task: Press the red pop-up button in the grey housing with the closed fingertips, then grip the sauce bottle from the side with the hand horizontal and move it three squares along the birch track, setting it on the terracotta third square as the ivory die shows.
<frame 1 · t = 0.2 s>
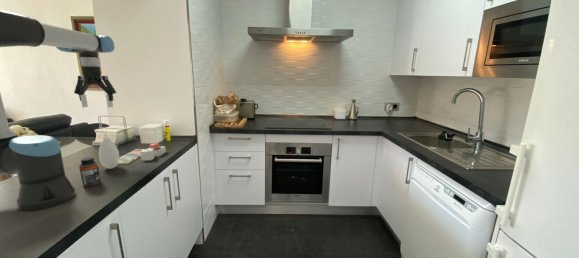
hand: (98, 107, 131), 28 cm above the counter, fingers open, 13 cm apart
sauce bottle: (111, 168, 119), on the counter
track board: (131, 156, 136), on the counter
ivory die: (148, 158, 132), on the counter
red button: (154, 146, 139), point 4 cm above the counter, slide at 0.0 cm
button housing: (155, 154, 140), on the counter
supplement bottle: (92, 184, 102), on the counter
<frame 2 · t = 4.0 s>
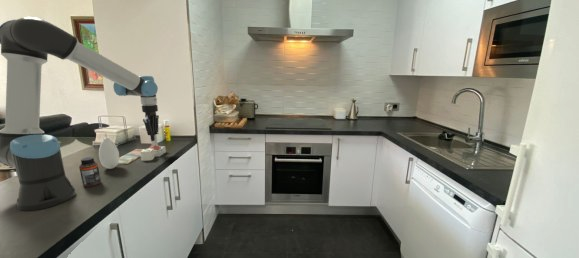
hand: (154, 145, 139), 5 cm above the counter, fingers closed
red button: (154, 148, 140), point 3 cm above the counter, slide at 1.2 cm, touching gripper
everything else where it was.
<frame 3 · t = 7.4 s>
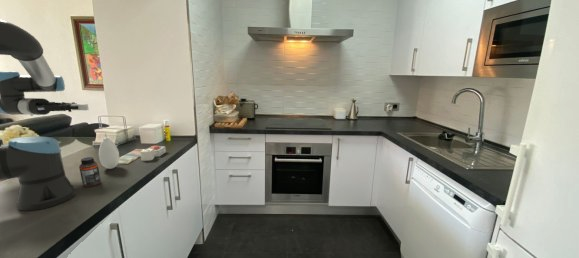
hand: (86, 107, 113), 30 cm above the counter, fingers closed
red button: (155, 149, 140), point 3 cm above the counter, slide at 1.5 cm
everything else where it was.
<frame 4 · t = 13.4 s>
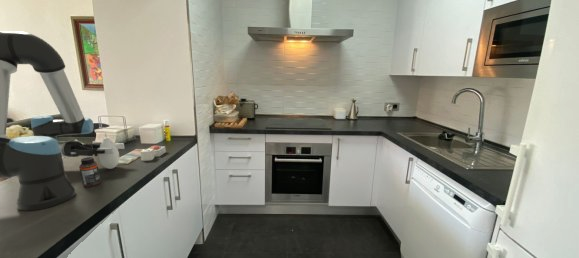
hand: (118, 148, 117), 10 cm above the counter, fingers closed on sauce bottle, 7 cm apart
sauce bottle: (111, 168, 119), on the counter, touching gripper
everything else where it was.
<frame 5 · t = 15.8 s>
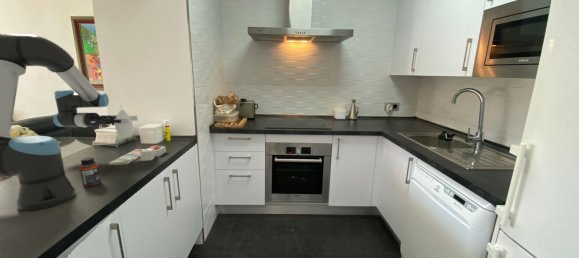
hand: (132, 119, 131), 21 cm above the counter, fingers closed on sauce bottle, 7 cm apart
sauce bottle: (126, 137, 133), point 11 cm above the counter, touching gripper
everything else where it was.
when the fingers open (12 cm above the counter, at t = 18.4 s): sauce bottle stays where it is, resting on track board.
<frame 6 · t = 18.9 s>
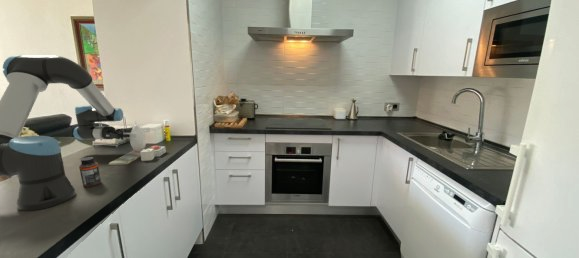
hand: (143, 132, 141), 12 cm above the counter, fingers open, 13 cm apart
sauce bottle: (139, 151, 143), point 1 cm above the counter, touching track board
everything else where it was.
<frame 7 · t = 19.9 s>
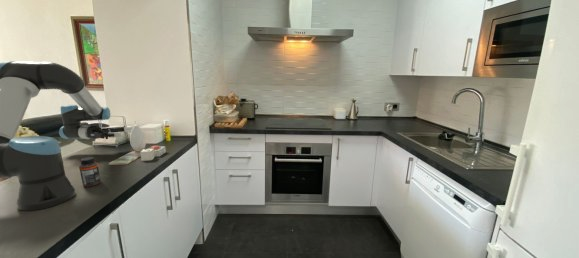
hand: (128, 131, 141), 12 cm above the counter, fingers open, 13 cm apart
nothing on the counter moved.
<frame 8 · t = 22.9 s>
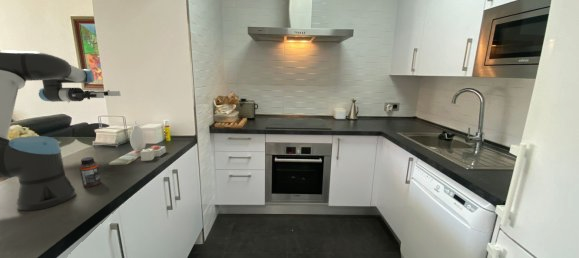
hand: (112, 94, 136), 34 cm above the counter, fingers open, 13 cm apart
nothing on the counter moved.
at the end: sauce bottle inside the target area (0.1 cm from its centre), point 0.8 cm above the counter; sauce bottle tilted 0°; red button slide at 1.5 cm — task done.
